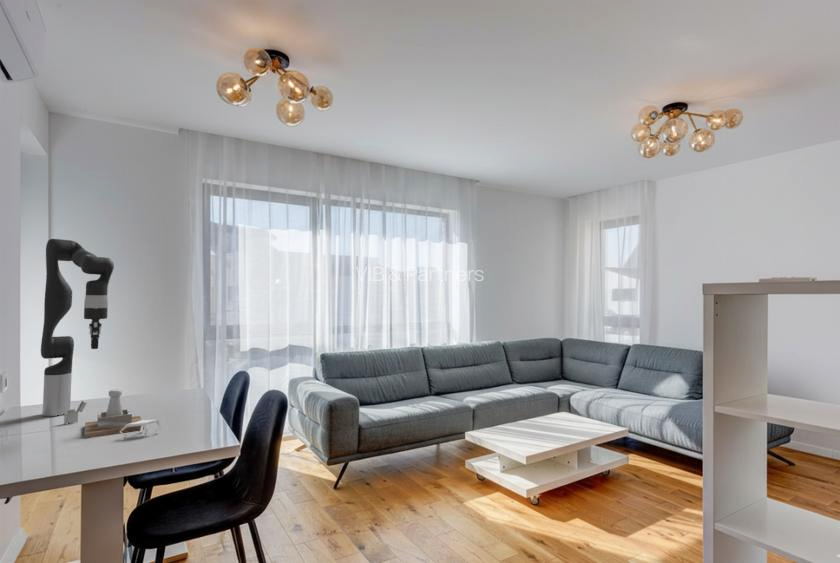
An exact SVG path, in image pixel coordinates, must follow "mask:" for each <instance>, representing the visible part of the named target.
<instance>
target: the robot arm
mask: <svg viewBox="0 0 840 563" xmlns="http://www.w3.org/2000/svg"><path fill="white" fill-rule="evenodd" d="M59 262H72V263H73V264H74V265H76V266H77V267H79V268H80V269H81V271H82V272H83V273H84V274H87V275H98V276H99V277H98V278H97V279H94V280H93V279H92V280H88V281H87V282H85V296H84V297H85V298H84V305H83V307H84V308H83V319H84V320H91V322H90V323H89V324H88V325H89V326H88V329H89V335H90V342H91V343H90V348H91V350H98V349H99V339H100V335H101V331H102V323H100V320H106V319H108V306H109V302H108V301H109V299H108V288H109V287H108V286H109V283H110V279H111V277H112V275H113V271H114V268H115V265H114V264H115V263H114V261H113V260H112V259H111V258H109V257H102V256H101V257H100V256H97V255H96V254H94V253H92V252H89V251H87V250H86V249H85V248H84V247H83V246H82V245H81V244H79V243H78V242H77V241H74V240H70V239H60V238H49V239H48V240H47V242H46V246H45V267H46V270H45V271H46V279H45V289H44V303H43V304H44V307H43V309H44V311H43V312H44V314H43V326H42V337H41V344H40V356H41V358H42V359H61V360H60V361H59V362H57V363H55V364H53V365H52V364H51V365H50V366H47V367H45V368H44V373H43V375H44V376H43V393H42V411H41V412H42V413H41V414H42V416H43V417H56V416H57V415H59V416H62V415H63V414H64V413H67V411H68V410H71V401H72V400H71V398H72V377H73V376H72V375H73V360H74V359H73V356H74V350H75V348H74V347H75V342H74V338H73V337H72V336H69V335H68V336H67V335H65V336H62V335H61V336H53V335H54V331H55V329H56V327H57V326H58V324H59V322H60V321H61V320H62V319H63V318H64V317H65V315H67V314H68V312H69V311H70V310H71V308H72V305H73V289H72V287H71V286H70V285H69V283H68V281H66V279H65V277H64V276H63V275H62V273H61V270H60V268H59ZM42 416H41V417H42ZM63 416H64V415H63ZM57 417H58V416H57Z"/></svg>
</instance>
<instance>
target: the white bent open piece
mask: <svg viewBox="0 0 840 563" xmlns="http://www.w3.org/2000/svg"><path fill="white" fill-rule="evenodd" d="M154 423H156V424H157V426H158V427H159V428H158V429H157V430H155V431H154V433H155V434H157V433H158V431H159V430H161V429H162V425H161V423H160V419H141V420H140V421H137V422H133V423H129V424H126V425H125V427H124V428H123V429H121V430H120V433H119V434H121V435H123V436H124V438H127V437H128V435H127V434H125V432H123V433H122V431H123V430H124V429H125V428H127V427H128V426H139V425H141V428H140V430H139V433H140V434H144V437H148V431H149V426H148V425H150V424H154ZM143 427H144V428H145V429H144V433H142V432H143Z"/></svg>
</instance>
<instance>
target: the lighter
mask: <svg viewBox="0 0 840 563" xmlns="http://www.w3.org/2000/svg"><path fill="white" fill-rule="evenodd" d="M87 404H88V402H87V401H84V400H81V402H80V404H79V406H78V407H77V409H74V408H73V409H70V410H68V411H67V413H64V415H63V416H64V417H63V424H64V423H65V424H66V425H68V424H67V423H71V424H74V423H73V422H77V423H78V422H79V412H80V413H82V412H83V411H84V410H85V407H86V405H87ZM65 424H64V425H65Z"/></svg>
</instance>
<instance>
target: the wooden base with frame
mask: <svg viewBox="0 0 840 563" xmlns="http://www.w3.org/2000/svg"><path fill="white" fill-rule="evenodd" d="M122 411H123V415H117V416H109V417H106V413H107V411H102V412H101V411H100V412H97V420H95V421H88V422H85V423H84V439H87V438H94V437H95V438H96V437H100V436H106V435H109V436H110V435H113V434H121V433H120V430H121V429H123V428H124V427H125V425H126V424H129V423H133V422H137V421H140V420H142V418H141V416H140V415H137V416H135V415H134V416H133V413H132V412H131V409H130V408H126V409H122ZM140 428H141V425H139V426H128V427H127V428H125V429H124V430H123V431H122V433H130V432H136V431H135V430H137V431H140ZM143 429H144V430H145V426H144V427H143ZM129 431H130V432H129Z"/></svg>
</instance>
